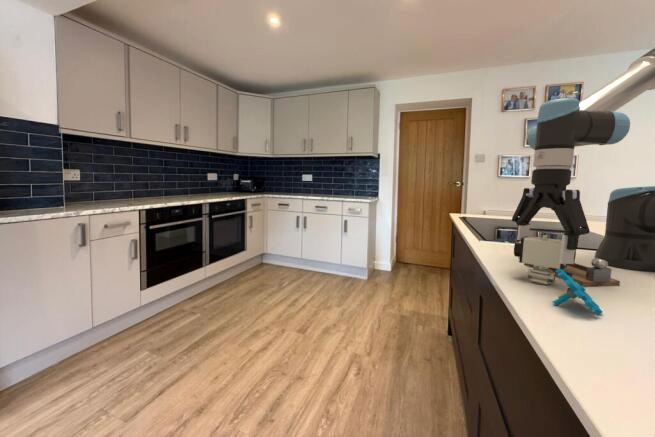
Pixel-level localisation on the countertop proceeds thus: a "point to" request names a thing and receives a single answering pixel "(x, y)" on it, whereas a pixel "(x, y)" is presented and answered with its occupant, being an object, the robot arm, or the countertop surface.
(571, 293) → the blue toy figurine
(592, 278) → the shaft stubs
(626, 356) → the countertop surface
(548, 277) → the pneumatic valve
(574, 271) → the brown wooden board
